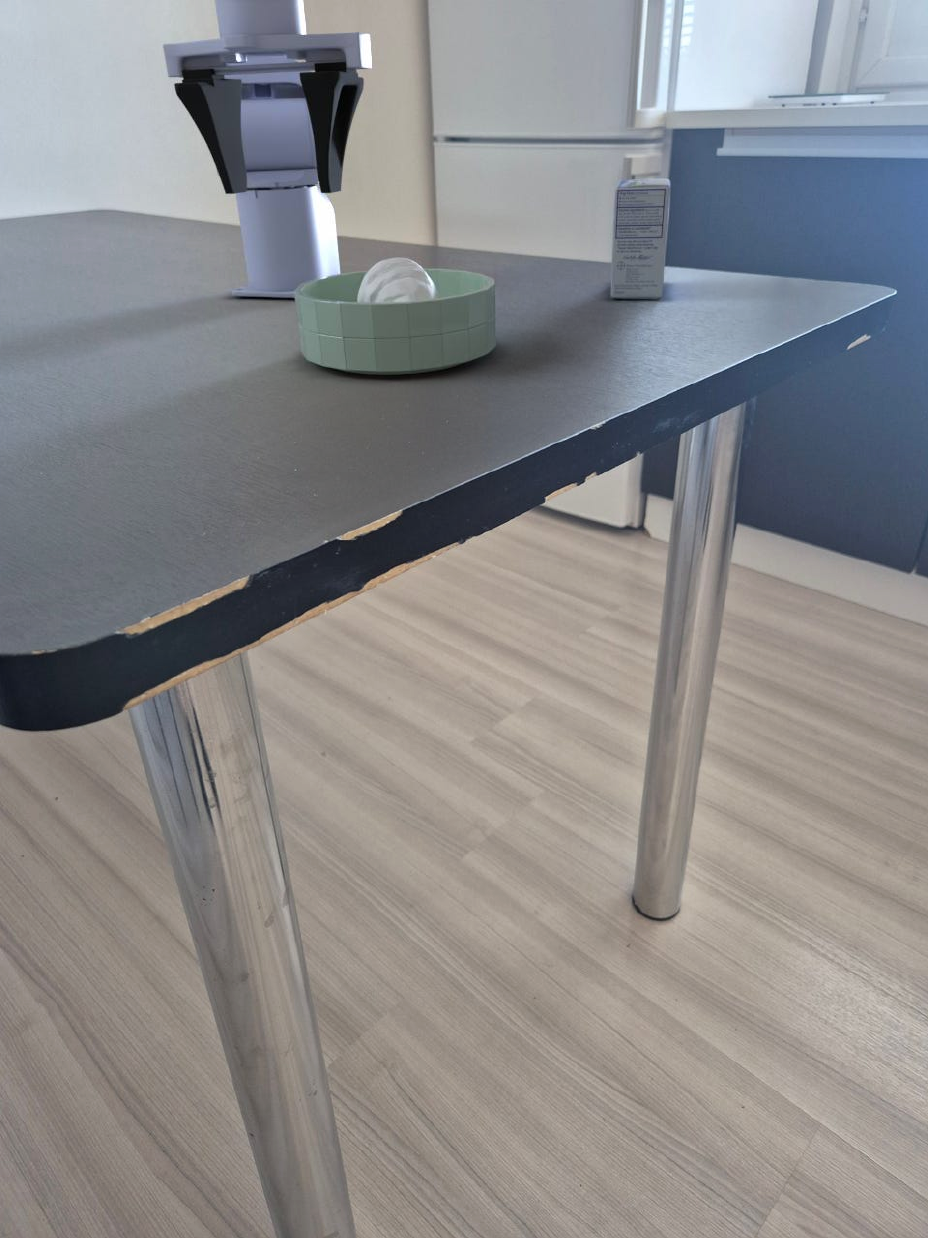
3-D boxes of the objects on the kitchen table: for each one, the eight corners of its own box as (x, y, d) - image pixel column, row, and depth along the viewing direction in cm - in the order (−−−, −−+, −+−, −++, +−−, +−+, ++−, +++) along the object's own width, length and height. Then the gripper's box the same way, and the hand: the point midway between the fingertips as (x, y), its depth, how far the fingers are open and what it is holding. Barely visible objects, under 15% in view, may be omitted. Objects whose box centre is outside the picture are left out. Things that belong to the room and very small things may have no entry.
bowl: (350, 329, 64) (344, 266, 62) (515, 336, 61) (515, 269, 59) (268, 374, 54) (258, 300, 52) (463, 385, 50) (461, 306, 48)
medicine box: (662, 300, 71) (672, 184, 66) (608, 299, 72) (614, 185, 67) (662, 283, 77) (671, 177, 73) (613, 283, 78) (619, 178, 74)
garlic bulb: (381, 362, 54) (374, 270, 51) (356, 342, 59) (348, 258, 56) (461, 352, 55) (458, 263, 53) (430, 334, 60) (427, 251, 57)
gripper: (119, -44, 53) (165, 197, 60) (331, -64, 49) (353, 196, 56) (182, -30, 59) (217, 189, 66) (376, -47, 55) (391, 187, 62)
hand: (283, 192), depth 61 cm, fingers open, 7 cm apart
